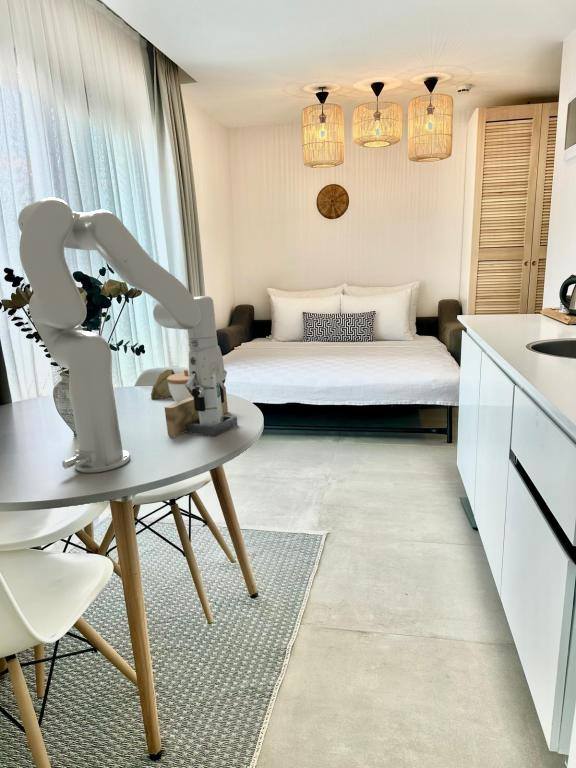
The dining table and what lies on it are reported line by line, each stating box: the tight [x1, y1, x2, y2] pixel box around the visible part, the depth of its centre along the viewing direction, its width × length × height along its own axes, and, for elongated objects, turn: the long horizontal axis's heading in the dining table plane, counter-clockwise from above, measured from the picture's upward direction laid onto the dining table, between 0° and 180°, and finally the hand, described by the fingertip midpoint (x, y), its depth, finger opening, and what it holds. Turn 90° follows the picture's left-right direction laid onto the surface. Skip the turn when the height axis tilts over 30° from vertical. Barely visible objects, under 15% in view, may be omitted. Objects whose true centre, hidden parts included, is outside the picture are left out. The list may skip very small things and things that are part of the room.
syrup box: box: [195, 373, 224, 426], centre depth 143 cm, size 6×6×14 cm
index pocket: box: [186, 414, 238, 437], centre depth 145 cm, size 10×10×2 cm
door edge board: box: [164, 385, 229, 437], centre depth 151 cm, size 24×3×8 cm, turn 150°
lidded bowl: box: [167, 369, 192, 403], centre depth 174 cm, size 13×13×11 cm
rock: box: [150, 369, 176, 400], centre depth 185 cm, size 11×9×10 cm
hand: (210, 406), depth 144 cm, fingers closed on syrup box, 7 cm apart
